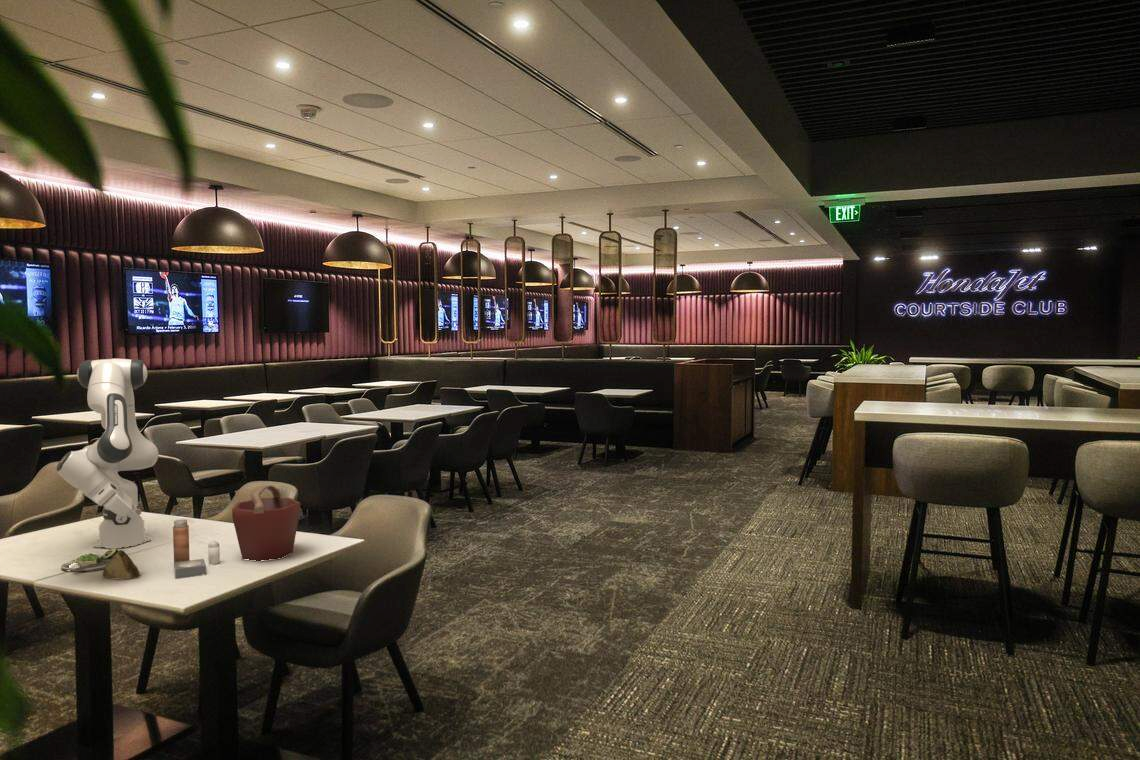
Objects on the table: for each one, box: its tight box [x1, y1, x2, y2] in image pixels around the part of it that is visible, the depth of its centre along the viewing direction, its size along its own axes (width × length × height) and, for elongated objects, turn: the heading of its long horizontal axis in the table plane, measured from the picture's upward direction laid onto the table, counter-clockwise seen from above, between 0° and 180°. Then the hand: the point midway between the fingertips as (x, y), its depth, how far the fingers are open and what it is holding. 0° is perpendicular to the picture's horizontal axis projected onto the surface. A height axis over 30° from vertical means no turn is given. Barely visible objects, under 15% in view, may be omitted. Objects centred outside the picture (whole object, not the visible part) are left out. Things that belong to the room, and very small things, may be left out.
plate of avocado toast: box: [60, 548, 119, 573], centre depth 265 cm, size 19×18×5 cm
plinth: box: [173, 558, 207, 579], centre depth 257 cm, size 9×9×3 cm
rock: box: [102, 549, 142, 580], centre depth 253 cm, size 11×9×10 cm
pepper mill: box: [172, 518, 191, 563], centre depth 264 cm, size 5×5×16 cm
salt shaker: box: [207, 540, 221, 565], centre depth 268 cm, size 4×4×8 cm
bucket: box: [231, 484, 301, 562], centre depth 278 cm, size 24×22×25 cm
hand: (140, 517), depth 257 cm, fingers open, 8 cm apart
